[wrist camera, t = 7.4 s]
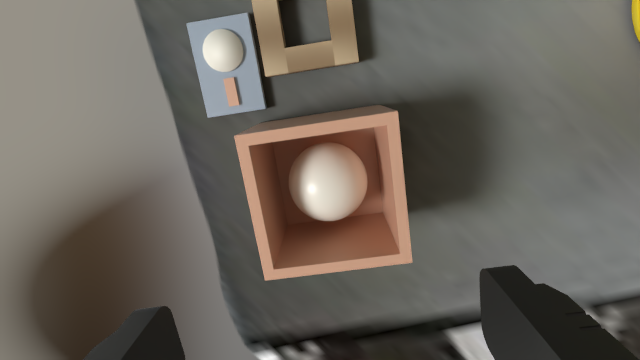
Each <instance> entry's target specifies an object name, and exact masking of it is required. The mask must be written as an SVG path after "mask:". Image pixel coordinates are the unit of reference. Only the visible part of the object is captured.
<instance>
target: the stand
mask: <svg viewBox="0 0 640 360" xmlns="http://www.w3.org/2000/svg"><path fill="white" fill-rule="evenodd" d="M279 1H281V0H252V6H253V11H254V17H255V22H256V27H257V33H258V38H259V44H260V49H261V55H262V60H263V66H264V71H265V76H266V77H273V76H279V75H285V74H291V73H297V72H304V71H310V70H316V69H322V68H328V67H335V66H341V65H347V64H353V63H358V62H359V58H358V50H357V41H356V33H355V25H354V16H353V8H352V0H326V4H327V11H328V18H329V26H330V33H331V40H330V41H324V42H318V43H312V44H306V45H300V46H294V47H288V48H286V43H285V37H284V31H283V25H282V19H281V13H280V7H279Z"/></svg>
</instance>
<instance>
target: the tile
mask: <svg viewBox="0 0 640 360" xmlns="http://www.w3.org/2000/svg"><path fill="white" fill-rule="evenodd" d="M186 24H187V29H188V33H189V37H190V42H191V46H192V51H193V55H194V59H195V64H196V68H197V72H198V77H199V81H200V85H201V90H202V94H203V99H204V103H205V107H206V112H207V116H208V118H209V117H215V116H222V115H228V114H235V113H241V112H248V111H254V110H260V109H266V108H267V105H266V100H265V95H264V89H263V84H262V78H261V73H260V68H259V62H258V57H257V52H256V46H255V41H254V36H253V30H252V25H251V19H250V15H249V14H248V13H243V14H237V15H231V16H226V17H220V18H214V19H208V20H203V21H197V22H191V23H186Z"/></svg>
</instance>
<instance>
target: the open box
mask: <svg viewBox="0 0 640 360" xmlns="http://www.w3.org/2000/svg"><path fill="white" fill-rule="evenodd" d="M234 137H235V142H236V146H237V151H238V156H239V161H240V165H241V170H242V175H243V179H244V184H245V189H246V193H247V198H248V203H249V207H250V212H251V217H252V221H253V226H254V231H255V235H256V240H257V245H258V250H259V254H260V259H261V264H262V268H263V273H264V278H265V281H266V280H274V279H282V278H290V277H298V276H307V275H315V274H323V273H331V272H339V271H348V270H356V269H364V268H372V267H380V266H389V265H397V264H405V263H412V253H411V243H410V232H409V222H408V211H407V201H406V191H405V180H404V170H403V159H402V149H401V138H400V128H399V118H398V111H396V110H393V109H390V108H387V107H385V106H382V105H373V106H366V107H360V108H353V109H347V110H340V111H334V112H327V113H320V114H314V115H307V116H301V117H294V118H288V119H281V120H275V121H268V122H262V123H259V124H257V125H255V126H253V127H251V128H249V129H247V130H245V131H243V132H241V133H239V134H237V135H235V136H234ZM325 142H332V143H338V144H341V145H344V146H346V147H348V148H349V149H351V150H352V151H353V152H354V153H356V155H357V156H358V157H359V158H360V159H361V161H362V162H363V165H364V167H365V169H366V173H367V182H368V183H367V191H366V194H365V197H364V199H363V201H362V203H361V204H360V206H359V207H358V208H357V209H356V210H355V211H354V212H353V213H352V214H350V215H348V216H347V217H345V218H343V219H340V220H336V221H320V220H316V219H314V218H311V217H309V216H308V215H306V214H305V213H303V212H302V211H301V210H300V209H299V208H298V207H297V205H296V204H295V203H294V201H293V199H292V197H291V194H290V190H289V173H290V170H291V167H292V165H293V163H294V161H295V159H296V158H297V157H298V156H299V155H300V154H301V153H302V152H303V151H304V150H305V149H307V148H308V147H310V146H312V145H315V144H319V143H325Z"/></svg>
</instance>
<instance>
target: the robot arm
mask: <svg viewBox="0 0 640 360" xmlns="http://www.w3.org/2000/svg"><path fill="white" fill-rule="evenodd" d="M480 302H481V324H482V330H483V335H484V338H485V341H486V344H487V346H488V348H489V350H490V352H491V354H492V355H493V357H494V359H495V360H639V359H638V358H636V357H635V356H634V355H633V354H632V353H631V352H630V351H629V350H628V349H626V348H625V347H624V346H623V345H622V344H621V343H620V342H619V341H618V340H616V339H615V338H614V337H613V336H612V335H611V334H610V333H609V332H608V331H606V330H605V329H602V328H601V326H600V324H599V323H598V322H596V321H595V320H594V319H593V318H592V317H591V316H590V315H586V313H585V311H584V310H583V309H582V308H581V307H580V306H579V305H578V304H576V303H575V302H574V301H573V300H572V299H571V298H570V297H569V296H568V295H566V294H564V293H562V292H560V291H558V290H556V289H554V288H552V287H550V286H548V285H546V284H534V283H533V282H532V281H531V280H530V279H529V278H528V277H527V276H526V275H525V274H524V273H523V272H522V271H521V270H520V269H519V268H518V267H517V266H515V265H511V266H503V267H494V268H486V269H482V270H481V271H480ZM84 360H185V355H184V351H183V348H182V345H181V342H180V338H179V335H178V332H177V328H176V325H175V322H174V318H173V315H172V312H171V310H170V309H169V308H168V307H166V306H162V307H153V308H145V309H137V310H135V311H133V312H132V313H131V315H130V316H129V317H128V318H127V319H126V320H125V321H124V323H123V324H122V325H121V326H120V327H119V328H118V330H117V331H116V332H114V333H113V334H112V335H110V336H109V337H107V338H106V339H105V340H103V341H102V342H101V343H99V344H98V345H97V346H95V347H94V348H93V349H92V350H91V352H90V353H89V354H88V355H87V356H86V357H85V358H84Z"/></svg>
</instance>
